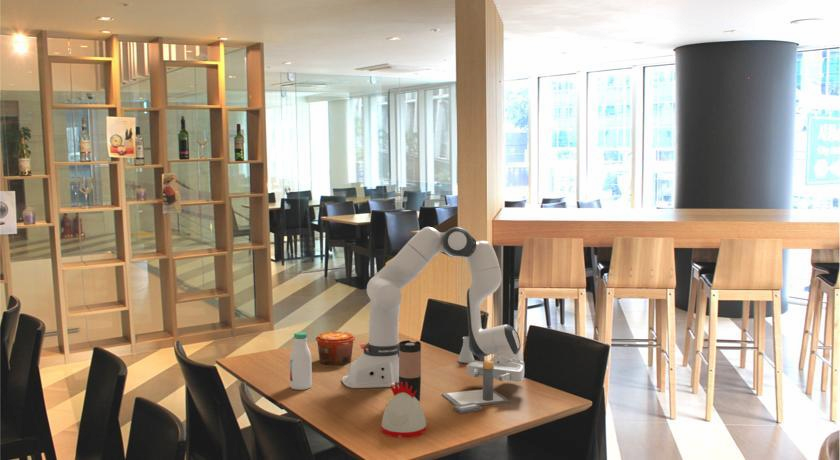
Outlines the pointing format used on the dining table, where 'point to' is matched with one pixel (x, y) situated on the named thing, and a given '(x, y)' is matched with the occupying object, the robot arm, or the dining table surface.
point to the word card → (467, 408)
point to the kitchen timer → (403, 414)
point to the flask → (466, 352)
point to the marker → (488, 380)
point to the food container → (335, 347)
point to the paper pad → (473, 397)
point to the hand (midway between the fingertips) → (488, 376)
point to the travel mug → (410, 366)
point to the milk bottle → (300, 363)
